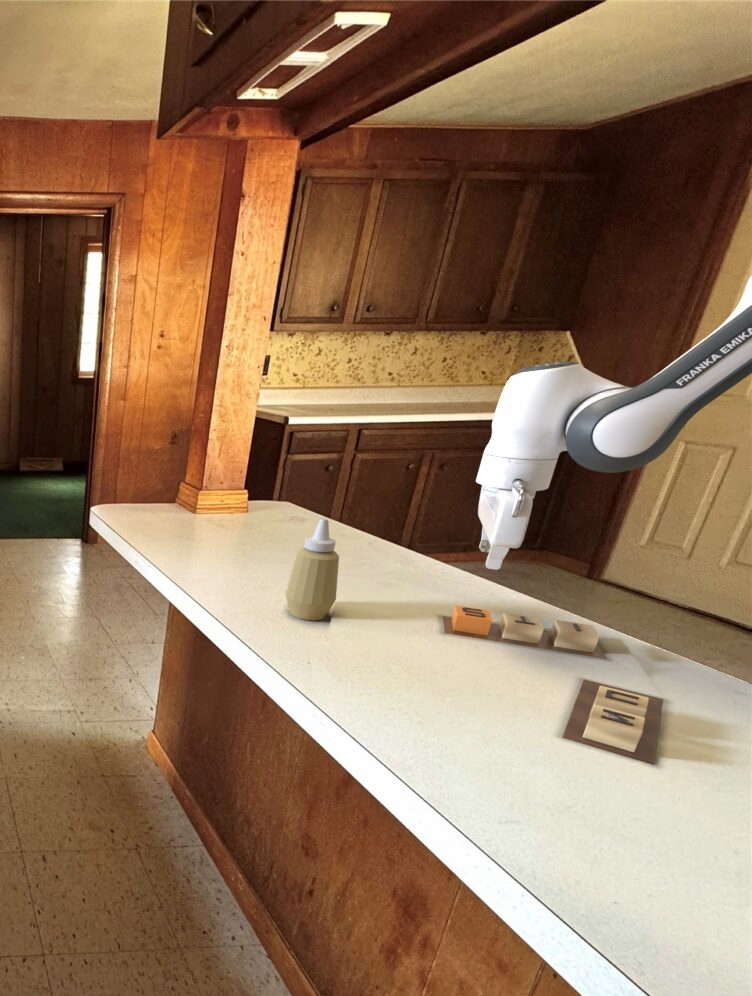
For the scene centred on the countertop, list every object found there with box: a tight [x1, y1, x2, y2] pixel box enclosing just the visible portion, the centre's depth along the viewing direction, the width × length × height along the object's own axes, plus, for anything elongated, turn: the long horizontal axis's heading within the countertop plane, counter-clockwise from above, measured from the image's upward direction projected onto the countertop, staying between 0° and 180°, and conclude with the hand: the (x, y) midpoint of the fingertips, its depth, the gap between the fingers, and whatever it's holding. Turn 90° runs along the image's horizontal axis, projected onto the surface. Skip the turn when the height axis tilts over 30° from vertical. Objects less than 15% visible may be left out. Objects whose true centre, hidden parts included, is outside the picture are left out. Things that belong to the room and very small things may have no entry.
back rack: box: [442, 612, 607, 660], centre depth 107 cm, size 20×8×4 cm, turn 58°
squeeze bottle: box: [285, 517, 340, 621], centre depth 117 cm, size 8×8×18 cm
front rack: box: [562, 679, 664, 765], centre depth 85 cm, size 20×8×4 cm, turn 133°
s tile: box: [452, 605, 493, 636], centre depth 110 cm, size 5×5×3 cm
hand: (488, 559), depth 106 cm, fingers open, 8 cm apart
